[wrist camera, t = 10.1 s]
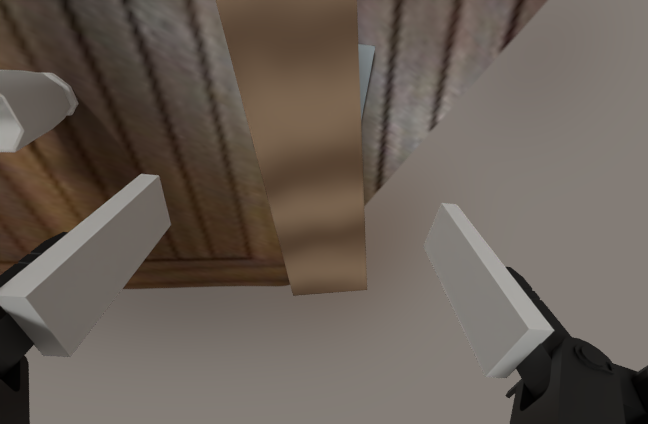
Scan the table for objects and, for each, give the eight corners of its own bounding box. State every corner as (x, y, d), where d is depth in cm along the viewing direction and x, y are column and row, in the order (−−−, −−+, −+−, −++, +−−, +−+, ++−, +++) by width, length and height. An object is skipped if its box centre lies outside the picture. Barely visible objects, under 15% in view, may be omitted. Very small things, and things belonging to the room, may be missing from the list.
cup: (107, 114, 30) (43, 138, 23) (40, 146, 32) (-37, 177, 25) (50, 43, 26) (-45, 47, 19) (-22, 84, 28) (-131, 101, 21)
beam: (225, -68, 16) (187, -107, 12) (343, -87, 16) (351, -135, 11) (297, 255, 30) (293, 295, 26) (360, 250, 30) (367, 289, 25)
